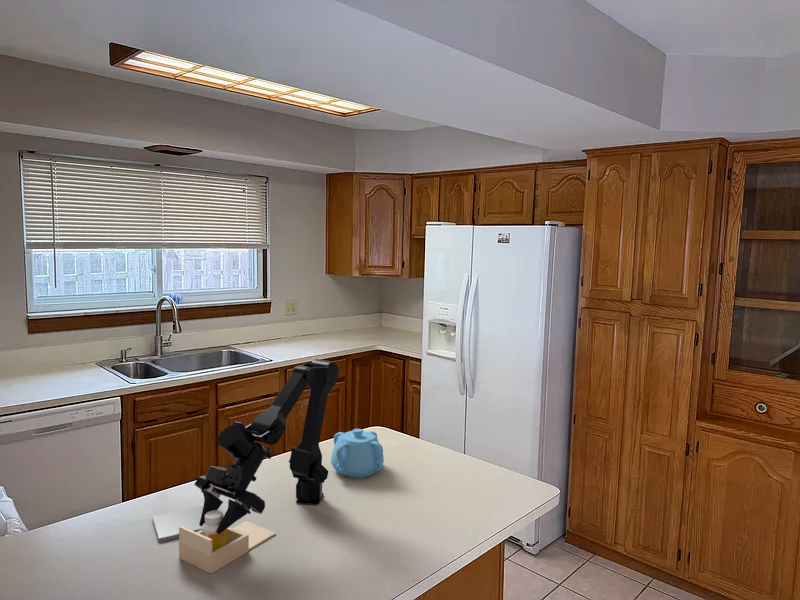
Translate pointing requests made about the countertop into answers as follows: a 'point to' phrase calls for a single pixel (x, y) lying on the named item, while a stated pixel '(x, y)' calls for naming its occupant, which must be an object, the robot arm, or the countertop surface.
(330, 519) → the countertop surface
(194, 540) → the carton
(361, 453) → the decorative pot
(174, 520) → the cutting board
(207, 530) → the supplement bottle
